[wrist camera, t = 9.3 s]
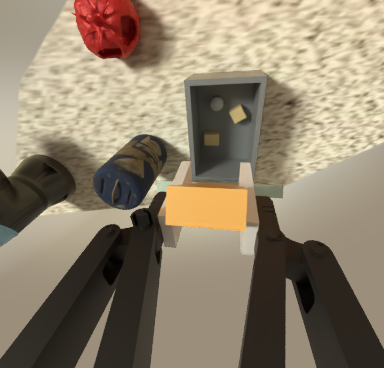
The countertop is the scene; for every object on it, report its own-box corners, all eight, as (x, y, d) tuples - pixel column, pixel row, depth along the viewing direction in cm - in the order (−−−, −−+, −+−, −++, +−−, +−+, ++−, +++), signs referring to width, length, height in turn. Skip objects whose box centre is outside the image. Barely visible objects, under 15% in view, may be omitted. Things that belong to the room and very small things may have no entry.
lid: (189, 180, 40) (189, 190, 40) (88, 182, 11) (87, 218, 11) (256, 182, 38) (255, 193, 38) (354, 194, 8) (351, 239, 9)
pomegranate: (81, 19, 35) (40, 12, 28) (116, -31, 31) (77, -56, 23) (121, 71, 39) (94, 77, 31) (157, 33, 34) (136, 29, 27)
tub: (198, 159, 47) (191, 179, 40) (193, 73, 37) (184, 80, 30) (250, 160, 45) (253, 182, 38) (260, 70, 35) (267, 75, 28)
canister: (175, 148, 46) (149, 194, 32) (156, 174, 52) (127, 224, 37) (140, 123, 44) (96, 160, 30) (125, 153, 50) (80, 197, 35)
